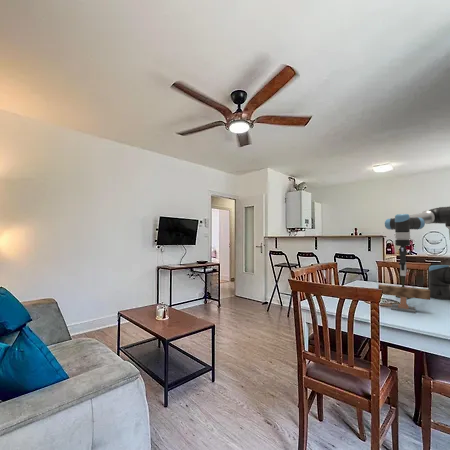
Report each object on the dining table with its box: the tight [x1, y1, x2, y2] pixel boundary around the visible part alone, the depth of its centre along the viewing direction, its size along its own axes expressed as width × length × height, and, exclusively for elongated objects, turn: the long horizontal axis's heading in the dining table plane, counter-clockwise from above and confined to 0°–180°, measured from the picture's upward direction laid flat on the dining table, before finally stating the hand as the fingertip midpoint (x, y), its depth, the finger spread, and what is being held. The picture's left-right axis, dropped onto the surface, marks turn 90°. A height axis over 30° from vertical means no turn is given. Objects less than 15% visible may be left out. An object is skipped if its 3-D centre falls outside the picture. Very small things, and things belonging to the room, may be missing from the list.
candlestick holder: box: [395, 276, 411, 300], centre depth 193 cm, size 9×9×30 cm
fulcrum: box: [390, 296, 416, 314], centre depth 163 cm, size 12×12×8 cm
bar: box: [377, 284, 431, 301], centre depth 163 cm, size 26×5×5 cm, turn 55°
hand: (403, 274), depth 164 cm, fingers open, 13 cm apart
